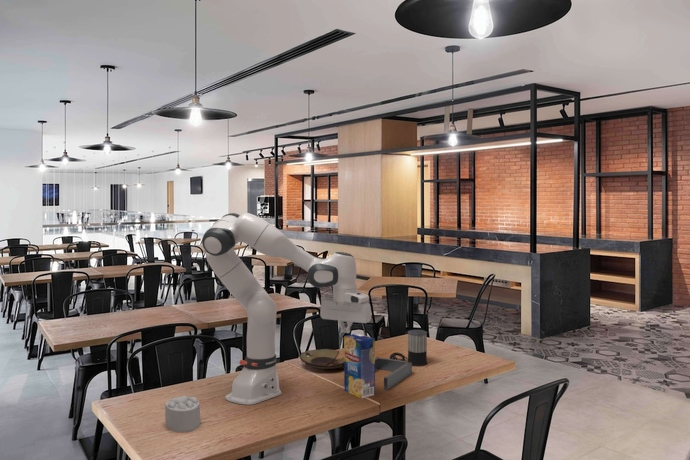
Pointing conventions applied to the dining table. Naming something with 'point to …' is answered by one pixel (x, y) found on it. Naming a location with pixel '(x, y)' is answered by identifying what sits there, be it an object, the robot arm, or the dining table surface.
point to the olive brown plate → (322, 358)
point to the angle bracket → (393, 370)
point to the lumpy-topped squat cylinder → (182, 414)
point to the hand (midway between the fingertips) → (345, 332)
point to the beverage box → (359, 365)
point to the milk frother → (415, 348)
